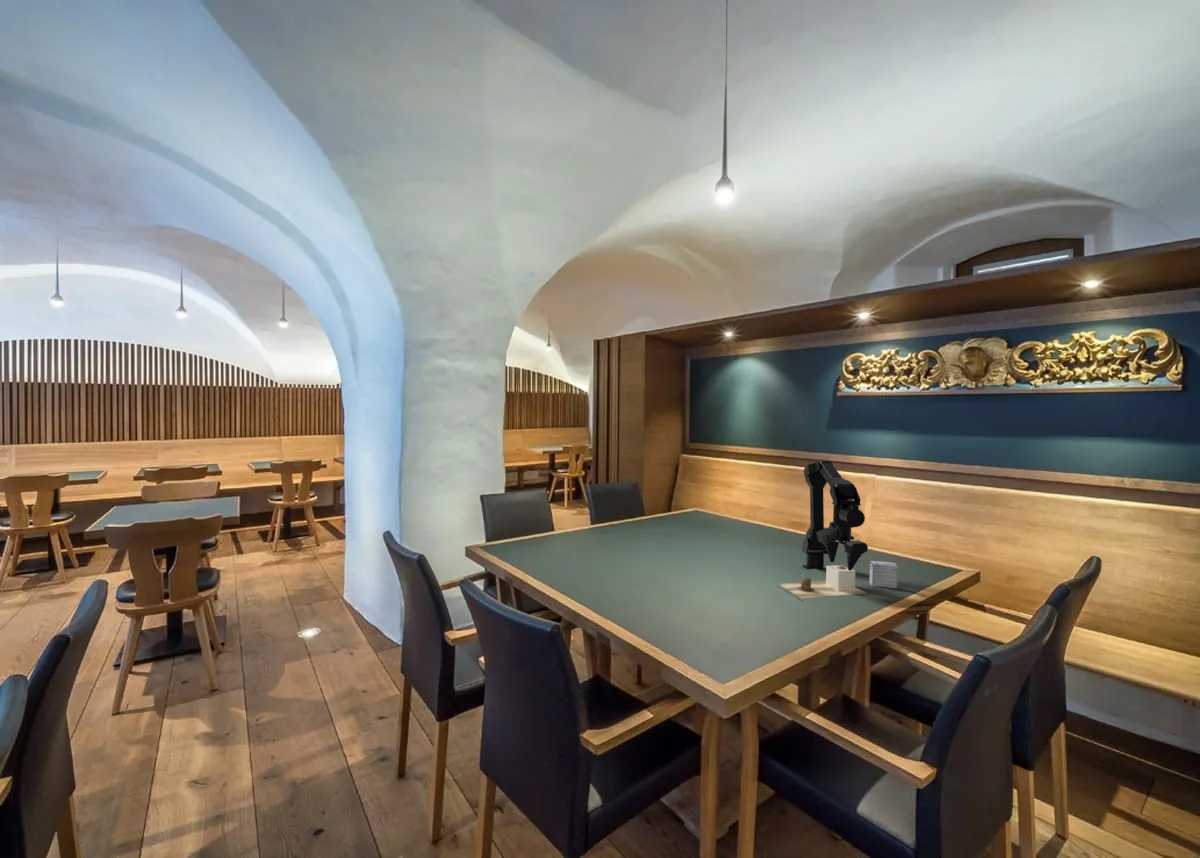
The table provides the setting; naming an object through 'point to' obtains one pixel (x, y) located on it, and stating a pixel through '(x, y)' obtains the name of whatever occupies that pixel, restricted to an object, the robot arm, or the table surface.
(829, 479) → the robot arm
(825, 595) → the tan board
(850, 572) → the knobbed cube
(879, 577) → the medicine box
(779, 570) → the table surface
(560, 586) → the table surface
